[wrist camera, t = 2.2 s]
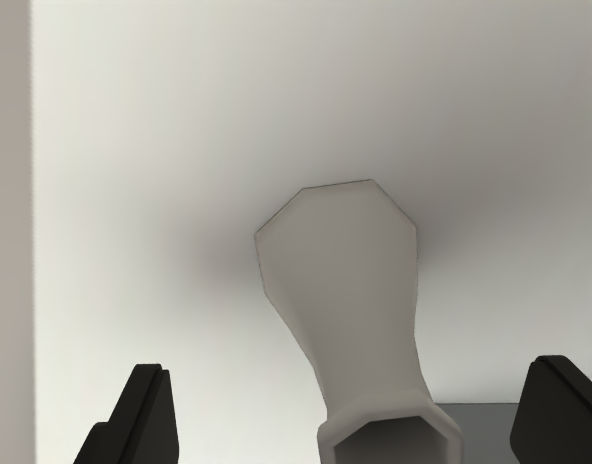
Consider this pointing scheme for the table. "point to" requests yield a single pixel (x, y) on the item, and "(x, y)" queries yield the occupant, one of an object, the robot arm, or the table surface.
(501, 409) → the scale
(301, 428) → the table surface
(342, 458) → the flask
